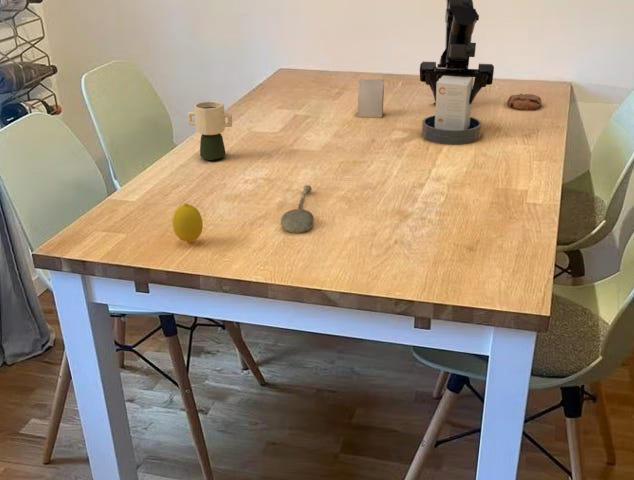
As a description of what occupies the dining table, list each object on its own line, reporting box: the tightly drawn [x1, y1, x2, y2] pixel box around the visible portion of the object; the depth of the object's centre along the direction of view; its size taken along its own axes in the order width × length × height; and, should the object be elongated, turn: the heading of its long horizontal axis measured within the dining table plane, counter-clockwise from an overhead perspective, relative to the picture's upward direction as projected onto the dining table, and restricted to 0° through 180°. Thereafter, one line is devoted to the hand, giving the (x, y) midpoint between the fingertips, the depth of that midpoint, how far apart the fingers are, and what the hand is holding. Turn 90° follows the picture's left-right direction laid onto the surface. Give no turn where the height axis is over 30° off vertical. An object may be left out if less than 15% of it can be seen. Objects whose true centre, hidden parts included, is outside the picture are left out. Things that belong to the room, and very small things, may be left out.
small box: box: [434, 75, 474, 130], centre depth 199 cm, size 8×6×13 cm
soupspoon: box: [280, 184, 315, 234], centre depth 159 cm, size 22×3×7 cm
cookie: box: [506, 93, 542, 111], centre depth 226 cm, size 10×11×3 cm
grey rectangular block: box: [357, 78, 385, 118], centre depth 217 cm, size 4×7×10 cm, turn 80°
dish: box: [421, 115, 483, 145], centre depth 202 cm, size 15×15×4 cm
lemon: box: [172, 203, 204, 244], centre depth 145 cm, size 6×6×8 cm
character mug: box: [187, 100, 233, 161], centre depth 186 cm, size 11×7×13 cm, turn 80°
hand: (453, 102), depth 197 cm, fingers closed on small box, 8 cm apart
